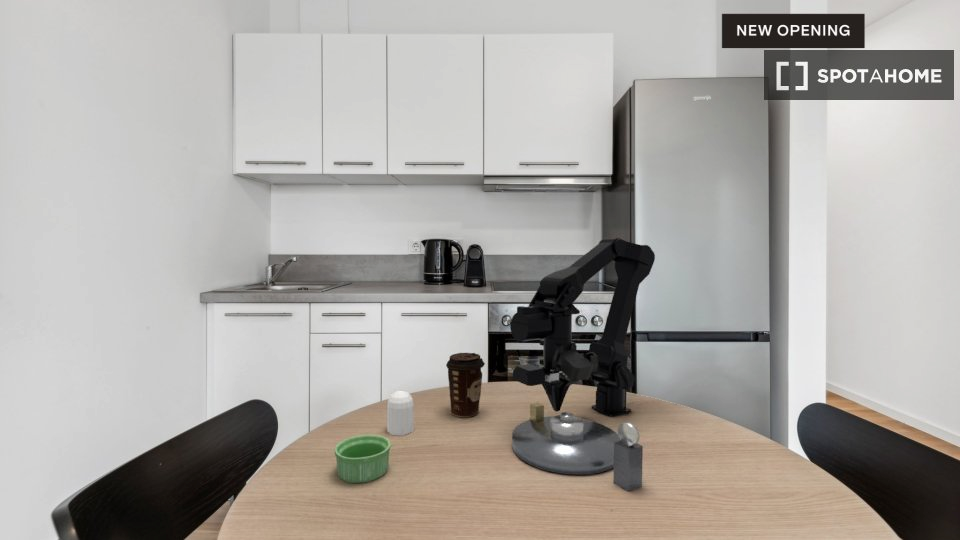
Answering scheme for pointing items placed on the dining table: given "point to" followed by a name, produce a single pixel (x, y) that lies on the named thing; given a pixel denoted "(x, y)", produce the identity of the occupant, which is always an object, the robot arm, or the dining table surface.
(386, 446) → the ramekin
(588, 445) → the turntable
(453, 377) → the coffee cup
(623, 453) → the indicator stand
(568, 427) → the cover
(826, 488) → the dining table surface
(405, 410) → the salt shaker
